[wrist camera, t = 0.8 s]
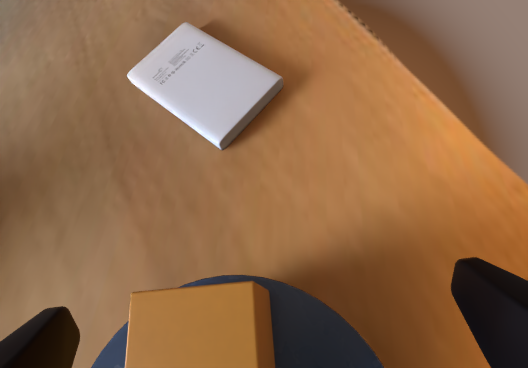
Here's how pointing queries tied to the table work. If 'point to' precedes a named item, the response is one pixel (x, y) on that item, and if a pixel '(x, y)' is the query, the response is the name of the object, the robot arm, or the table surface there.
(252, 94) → the hard drive
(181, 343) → the block
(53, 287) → the table surface
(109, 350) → the tin lid
